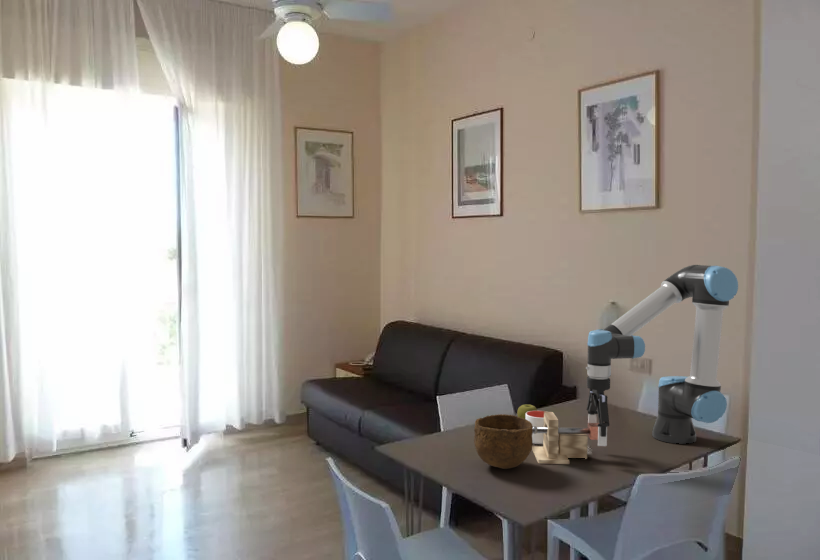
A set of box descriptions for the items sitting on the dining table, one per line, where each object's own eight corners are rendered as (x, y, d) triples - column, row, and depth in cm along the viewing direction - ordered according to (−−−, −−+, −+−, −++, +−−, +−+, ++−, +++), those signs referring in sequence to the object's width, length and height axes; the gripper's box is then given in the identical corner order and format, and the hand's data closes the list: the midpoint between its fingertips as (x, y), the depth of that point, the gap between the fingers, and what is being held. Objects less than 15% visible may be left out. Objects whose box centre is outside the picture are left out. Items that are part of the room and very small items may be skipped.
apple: (538, 426, 254) (539, 408, 253) (518, 425, 254) (518, 407, 253) (535, 420, 261) (535, 403, 261) (515, 420, 261) (516, 403, 261)
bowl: (519, 482, 194) (520, 433, 193) (463, 470, 204) (464, 423, 203) (541, 464, 210) (542, 419, 209) (488, 453, 220) (489, 410, 219)
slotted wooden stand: (581, 450, 224) (582, 411, 223) (591, 464, 210) (592, 422, 209) (532, 449, 225) (532, 410, 224) (538, 463, 211) (539, 421, 210)
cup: (553, 446, 229) (553, 418, 228) (524, 444, 231) (525, 416, 230) (552, 438, 238) (553, 411, 238) (525, 436, 240) (525, 409, 240)
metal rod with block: (600, 435, 219) (600, 423, 218) (603, 439, 214) (604, 426, 214) (530, 434, 219) (530, 421, 219) (532, 438, 215) (532, 425, 215)
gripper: (578, 369, 228) (577, 428, 229) (596, 384, 203) (594, 451, 204) (600, 369, 228) (598, 428, 229) (620, 385, 203) (618, 451, 204)
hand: (596, 439), depth 216 cm, fingers open, 13 cm apart
